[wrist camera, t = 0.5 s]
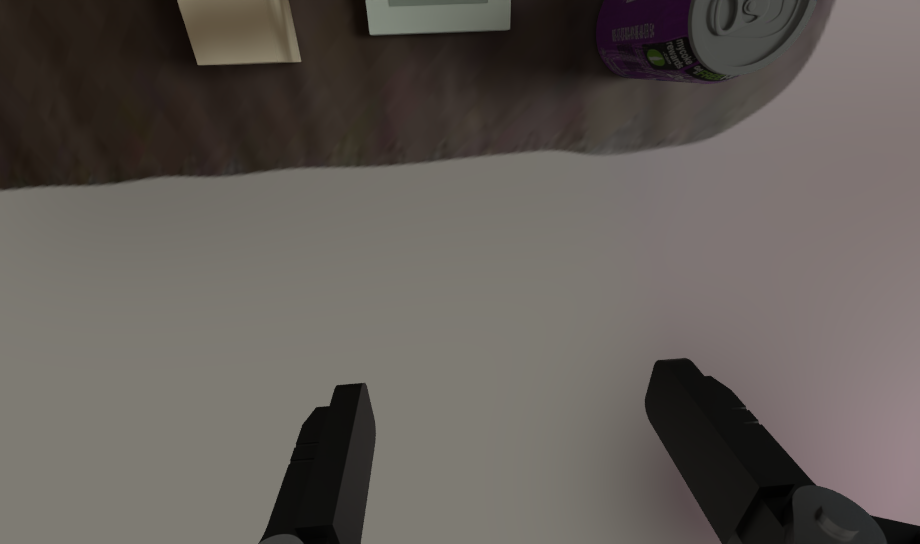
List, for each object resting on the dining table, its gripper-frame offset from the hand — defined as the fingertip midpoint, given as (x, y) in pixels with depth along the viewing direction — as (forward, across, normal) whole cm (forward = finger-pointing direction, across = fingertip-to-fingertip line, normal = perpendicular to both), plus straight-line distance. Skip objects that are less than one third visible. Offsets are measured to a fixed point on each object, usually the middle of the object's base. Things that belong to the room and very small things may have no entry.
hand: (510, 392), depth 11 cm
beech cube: (+26, +14, -11) cm, 31 cm away
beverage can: (+26, -14, -9) cm, 31 cm away
